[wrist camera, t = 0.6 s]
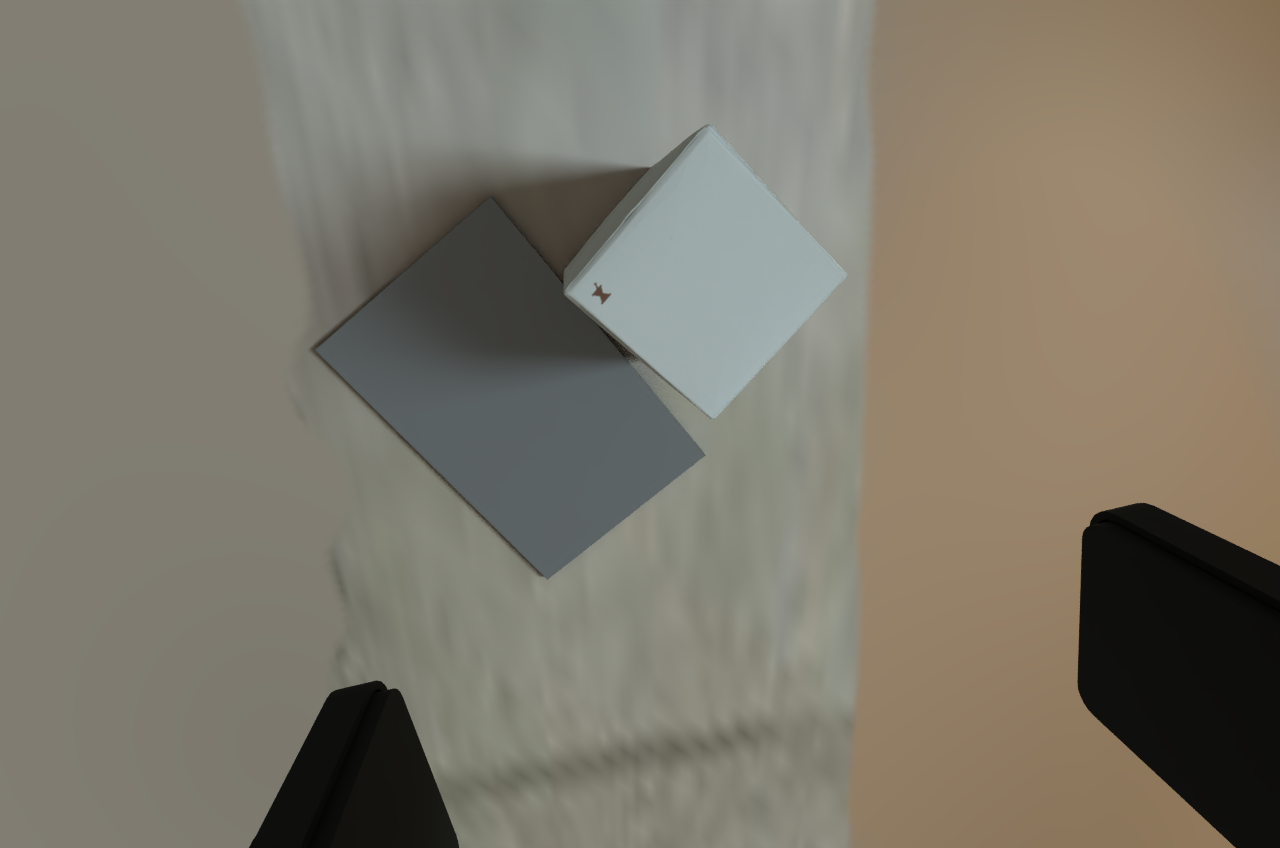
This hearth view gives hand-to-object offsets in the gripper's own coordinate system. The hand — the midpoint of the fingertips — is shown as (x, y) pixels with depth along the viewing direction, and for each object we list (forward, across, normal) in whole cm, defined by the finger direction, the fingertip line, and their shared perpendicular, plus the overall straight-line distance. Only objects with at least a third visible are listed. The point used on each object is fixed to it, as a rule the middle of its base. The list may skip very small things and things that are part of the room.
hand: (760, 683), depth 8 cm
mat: (+27, +6, +2) cm, 28 cm away
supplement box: (+28, -3, -3) cm, 28 cm away
